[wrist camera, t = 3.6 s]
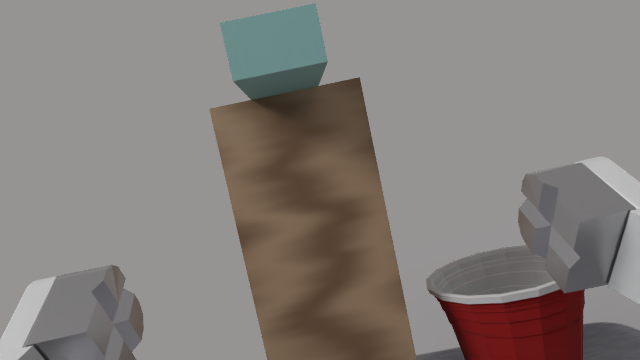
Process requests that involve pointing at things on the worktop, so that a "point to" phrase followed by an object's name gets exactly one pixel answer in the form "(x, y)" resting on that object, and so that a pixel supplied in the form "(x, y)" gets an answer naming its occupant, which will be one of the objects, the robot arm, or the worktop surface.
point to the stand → (314, 225)
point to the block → (275, 51)
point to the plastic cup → (509, 307)
